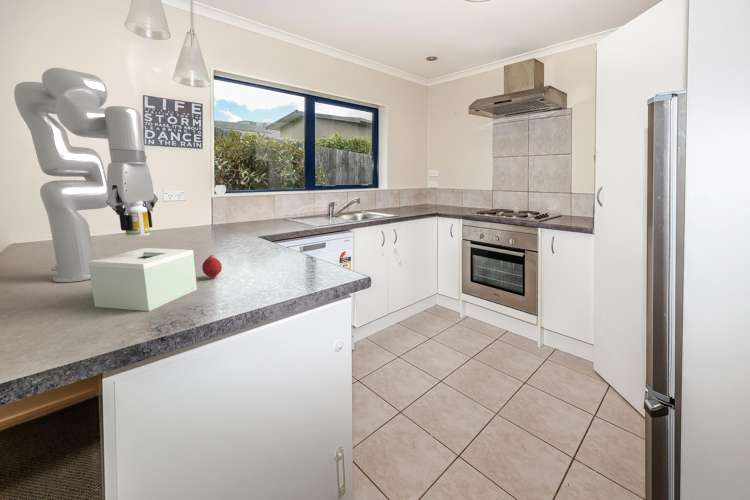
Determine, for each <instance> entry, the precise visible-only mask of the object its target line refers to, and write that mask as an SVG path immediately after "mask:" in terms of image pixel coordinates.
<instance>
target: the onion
mask: <svg viewBox="0 0 750 500" xmlns="http://www.w3.org/2000/svg"><path fill="white" fill-rule="evenodd" d="M201 267H202V272H203V274H204V275H205V276H207V277H209V278H211V279H215V278H217V276H218V275H219V274H220V273H221V272H222V269H223V266H222V263H221V261H220V260H219V259H217V258H216V257H214V254H209V255H208V258H206V259H205V260H204V262H203V263H202V265H201Z"/></svg>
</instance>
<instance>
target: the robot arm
mask: <svg viewBox="0 0 750 500" xmlns="http://www.w3.org/2000/svg"><path fill="white" fill-rule="evenodd" d="M13 91H14V92H13V94H14V96H13V97H14V101H15V104H16V108H17V111H18V112H19V114H20V116H21V118H22V119H23V120H22V121H24V122H25V124H26V126H27V128H28V130H29V131H30V134H31V139H32V143H33V145H34V150H35V155H36V158H37V161H38V164H39V167H40V170H41V171H42V172H43V173H44V174H45V175H48V176H51V177H59V178H60V177H61V178H62V177H63V178H64V177H65V178H66V177H69V178H70V177H71V178H72V177H74V178H75V177H78V178H79V177H80V178H84V180H82V179H81V180H78V179H77V180H76V179H74V180H73V179H59V180H56V179H55V180H50V181H47V182H45V183H43V184H42V186H40V189H39V193H40V194H39V195H40V198H41V201H42V204H43V206H44V209H45V211H46V215H47V219H48V223H49V227H50V234H51V238H52V245H53V250H54V256H55V262H56V264H55V265H54V266H52V267H51V268H50V271H52V272H56V274H55V275H54V276H53V277H52V280H53V282H55V283H74V282H76V283H77V282H81V281H88V280H91V278H90V271H89V265H88V261H91V260H95V259H94V258H95V256H94V250H93V246H92V245H93V244H92V238H91V232H90V225H89V223H88V221H87V220H86V218H85V217H83V216H82V215H81V214H80V213H79V212H78V211H84V210H85V211H86V210H100V209H104V208H106V207H108V206H109V207H110V208H111V209H112V210H113V211H114V212H115V213H116V215H117V216H118V218H119V223H120V230H121V231H123V232H124V231H125V232H126V231H132V230H133V222H132V216H131V215H129V212H130V205H131V203H136V202H139V201H142V202H143V204H142V205H143V207H146V208H147V213H148V221H149V229H150V228H153V219H152V213H153V212H154V210H153V209H154V207H155V205H156V203H157V202H158V200H159V198H158V196H157V195H156V194H155V192H154V186H153V181H152V176H151V173H150V168H149V166H148V164H147V159H148V157H147V155H146V149H145V142H144V141H145V140H144V133H143V131H144V130H143V125H142V115H141V113H140V111H139V110H137V109H136V108H133V107H129V106H122V105H121V106H120V105H110V106H106V107H105V108H103V105H104V104H106V101H107V99H108V89H107V86H106V84H105V83H104V81H103V80H102V79H101V78H100V77H99V76H97V75H95V74H92V73H85V72H83V71H82V72H81V71H77V70H73V69H67V68H63V67H51V68H48V69H46V70H44V72H43V73H42V75H41V82H40V81H38V82H37V81H22V82H19V83H17V84H16V85H15V86H14V90H13ZM50 114H51V115H52V114H53V115H56V117H57V119H58V121H57V120H56V119H55V118H53V117H52V116H51V115H50ZM61 124H62V125H61ZM67 131H68V132H70V133H71V134H73V135H75V136H78V137H83V138H90V139H91V138H93V139H101V140H102V139H104V140H107V143H108V149H109V157H110V163H107V171H106V172H107V173H106V172H105V167H104V163H103V160H102V158H101V156H100V155H99V153H98V152H97V151H96V150H94V149H93V148H91V147H90V148H89V147H84V146H72V145H71V143H70V141H69V138H68V133H67Z"/></svg>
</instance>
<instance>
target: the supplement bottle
mask: <svg viewBox="0 0 750 500" xmlns="http://www.w3.org/2000/svg"><path fill="white" fill-rule="evenodd" d="M142 204H143V202H142V201H139V202H136V203H131V205H130V212H129V215H131V216H132V222H133V230H132V231H125V235H126V237H128V238H138V237H139V238H140V237H146V236H149V235H151V230H150V228H149V221H148V213H147V208H146V207H143V205H142Z"/></svg>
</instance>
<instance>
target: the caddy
mask: <svg viewBox="0 0 750 500" xmlns="http://www.w3.org/2000/svg"><path fill="white" fill-rule="evenodd" d="M194 255H195V253H194V250H193V249H180V248H179V249H176V248H159V247H158V248H155V247H154V248H153V247H144V248H143V247H142V248H139V249H134V250H131V251H126V252H122V253H119V254H113V255H109V256H105V257H104V256H103V257H100V258H96V259H94V260H91V261H88V265H89V271H90V278H91V279H90V282H91V283H90V284H91V290H92V296H93V302H94V307H95V308H107V309H117V310H118V309H119V310H132V311H142V312H150V311H152V310H155V309H157V308H160V307H162V306H164V305H166V304H168V303H171V302H173V301H175V300H177V299H179V298H181V297H182V298H183V296H186V295H188V294H190V293H193V292H195V291H197V290H198V286H197V285H198V284H197V276H196V275H197V274H196V266H195V265H196V264H195V256H194Z"/></svg>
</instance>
